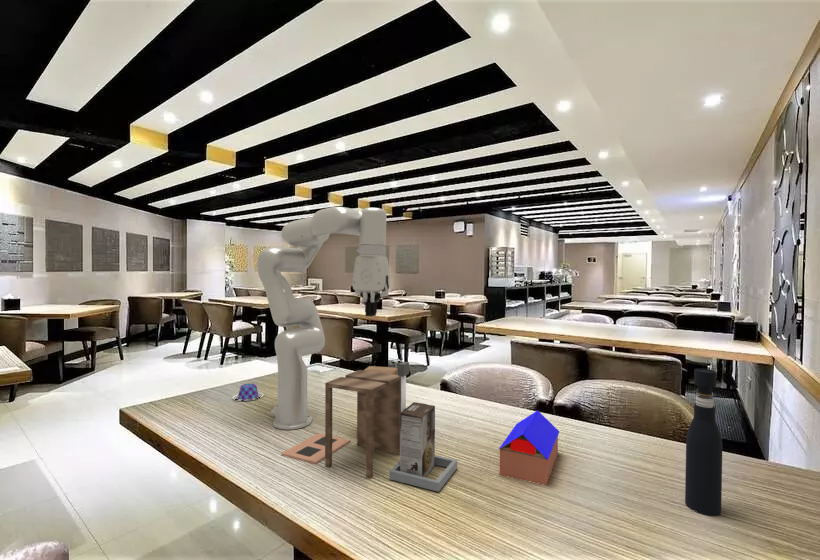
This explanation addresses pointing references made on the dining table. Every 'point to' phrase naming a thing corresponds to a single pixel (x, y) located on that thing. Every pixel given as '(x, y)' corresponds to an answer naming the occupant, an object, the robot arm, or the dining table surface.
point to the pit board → (314, 448)
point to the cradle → (441, 461)
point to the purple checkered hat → (248, 392)
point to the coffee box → (417, 439)
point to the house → (530, 450)
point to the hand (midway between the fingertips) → (370, 315)
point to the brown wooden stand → (369, 413)
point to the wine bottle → (704, 450)
